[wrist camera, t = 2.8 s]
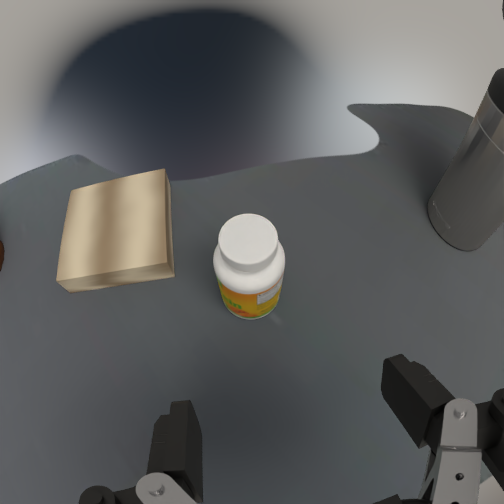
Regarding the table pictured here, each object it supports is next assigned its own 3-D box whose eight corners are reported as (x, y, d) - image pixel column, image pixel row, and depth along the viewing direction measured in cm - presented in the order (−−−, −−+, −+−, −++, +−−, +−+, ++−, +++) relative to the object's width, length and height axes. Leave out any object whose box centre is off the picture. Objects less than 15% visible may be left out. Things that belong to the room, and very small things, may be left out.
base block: (170, 185, 36) (164, 168, 34) (174, 276, 30) (167, 262, 28) (81, 205, 35) (71, 190, 33) (70, 293, 29) (56, 281, 27)
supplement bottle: (210, 289, 30) (191, 232, 21) (255, 257, 31) (253, 193, 23) (246, 332, 28) (240, 290, 19) (291, 296, 29) (305, 241, 21)
